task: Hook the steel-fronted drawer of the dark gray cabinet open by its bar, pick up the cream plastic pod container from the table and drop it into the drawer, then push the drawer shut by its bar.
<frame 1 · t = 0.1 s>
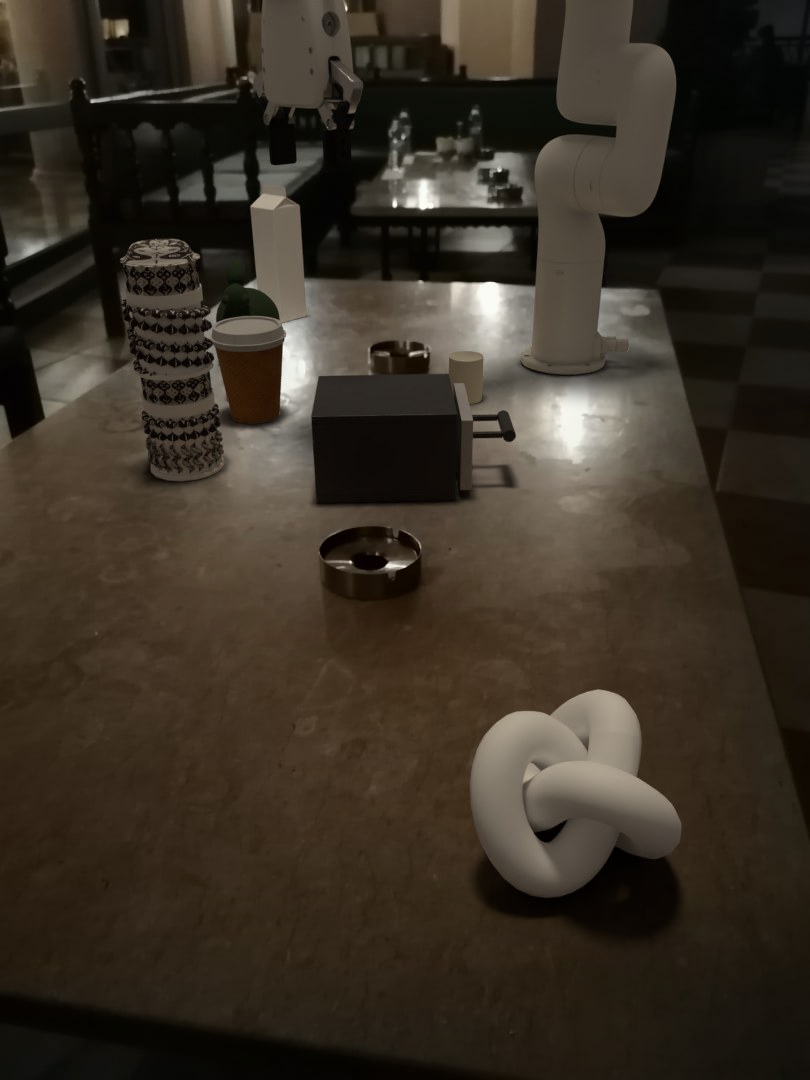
hand: (310, 167, 96), 31 cm above the table, tool pointing down, fingers open, 9 cm apart
disposable coffee cup: (256, 416, 119), on the table
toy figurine: (250, 373, 135), on the table
dark gray cabinet: (385, 476, 102), on the table
pod container: (465, 398, 124), on the table
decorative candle: (187, 467, 105), on the table
white knot sculpture: (555, 851, 55), on the table
milk: (283, 317, 162), on the table
drawer: (428, 435, 100), point 5 cm above the table, slide at 0.5 cm
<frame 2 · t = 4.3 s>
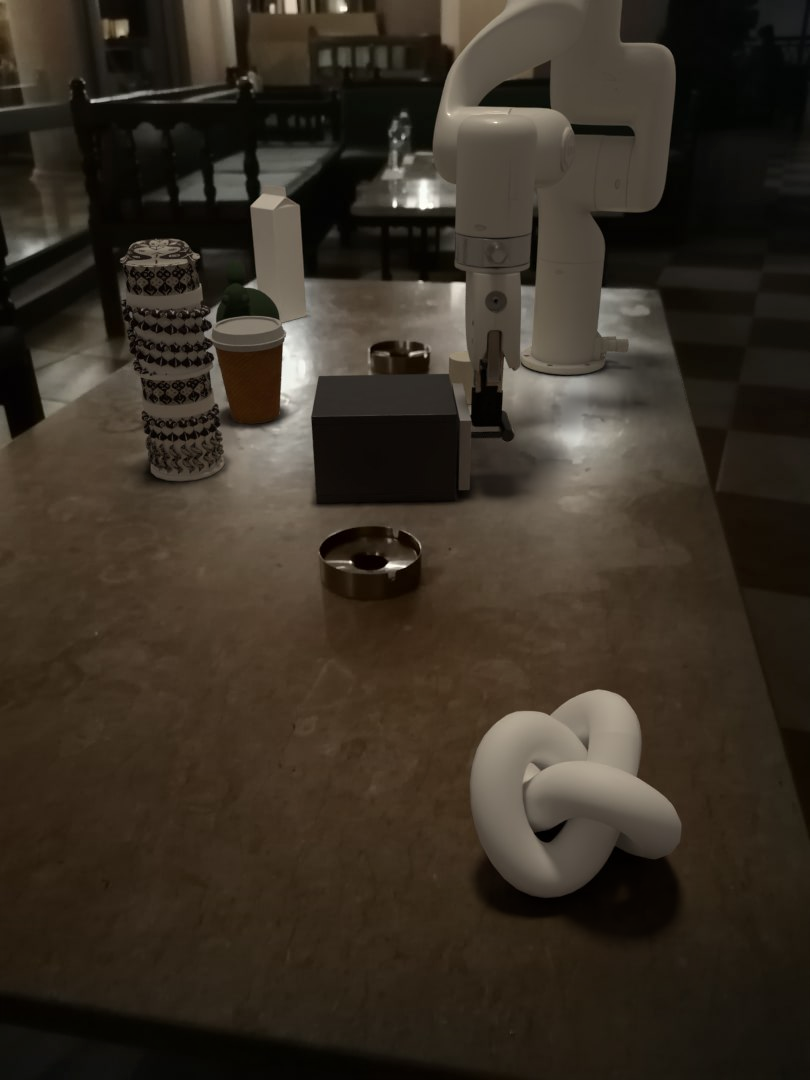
hand: (485, 424, 99), 6 cm above the table, tool pointing down, fingers closed
drawer: (426, 435, 100), point 5 cm above the table, slide at 0.3 cm, touching gripper
everything else where it was.
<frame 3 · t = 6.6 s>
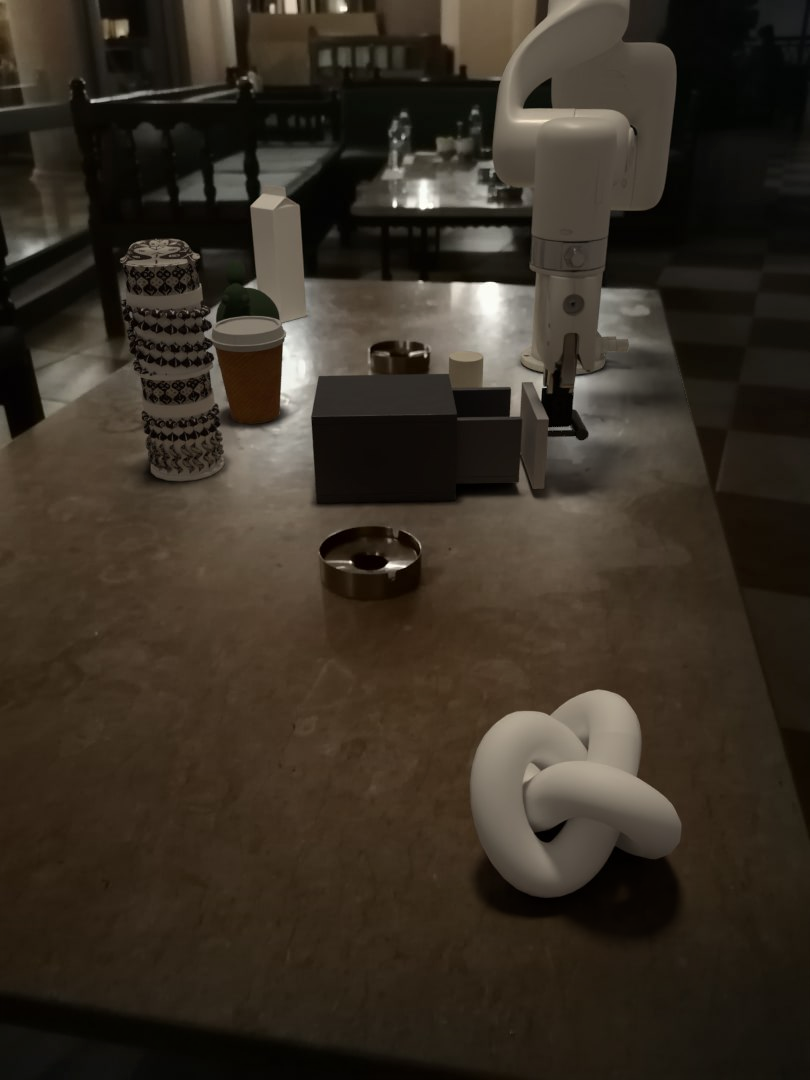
hand: (555, 424, 100), 6 cm above the table, tool pointing down, fingers closed
drawer: (498, 434, 100), point 5 cm above the table, slide at 8.3 cm
everything else where it was.
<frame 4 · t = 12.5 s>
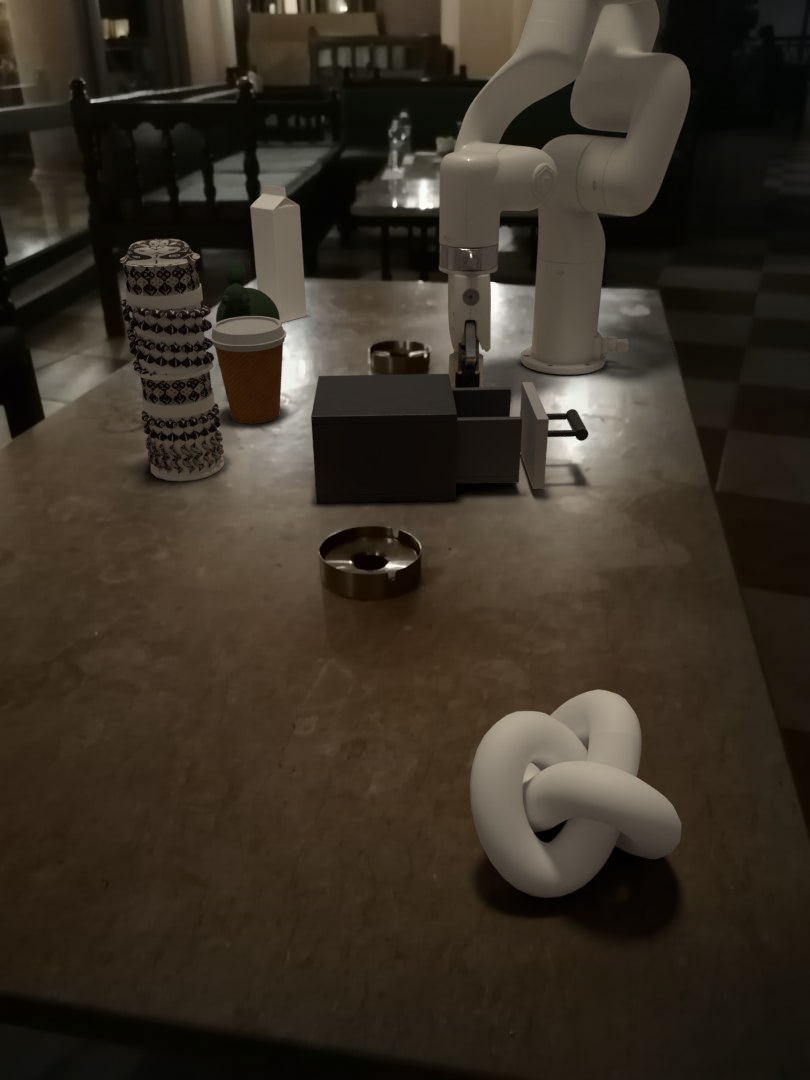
hand: (465, 393, 124), 1 cm above the table, tool pointing down, fingers closed on pod container, 4 cm apart
pod container: (465, 398, 124), on the table, touching gripper
everything else where it was.
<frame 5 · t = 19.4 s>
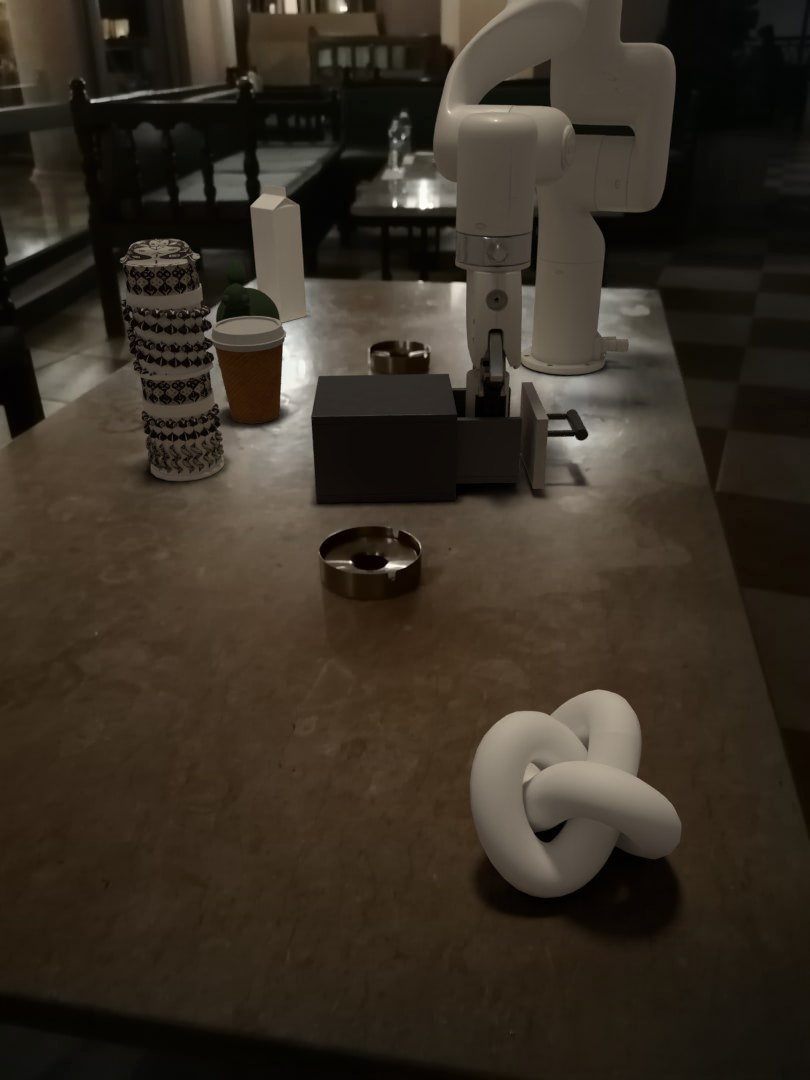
hand: (486, 420, 99), 7 cm above the table, tool pointing down, fingers closed on pod container, 4 cm apart
pod container: (486, 426, 99), point 6 cm above the table, touching gripper
drawer: (498, 434, 100), point 5 cm above the table, slide at 8.3 cm, touching gripper
everything else where it was.
when the fingers open (8 cm above the table, at t = 27.4 s): pod container drops 5 cm, resting on drawer.
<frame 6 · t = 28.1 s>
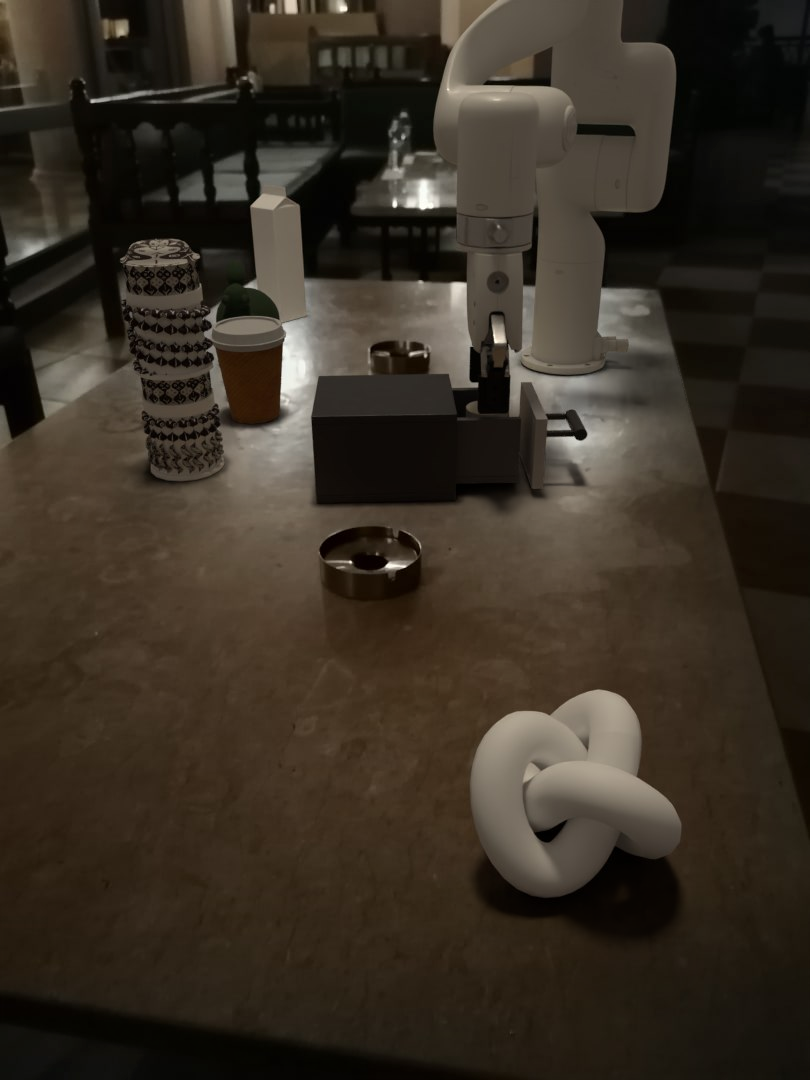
hand: (488, 396, 98), 9 cm above the table, tool pointing down, fingers open, 9 cm apart
pod container: (485, 457, 101), point 2 cm above the table, touching drawer
drawer: (497, 434, 100), point 5 cm above the table, slide at 8.2 cm, touching pod container
everything else where it was.
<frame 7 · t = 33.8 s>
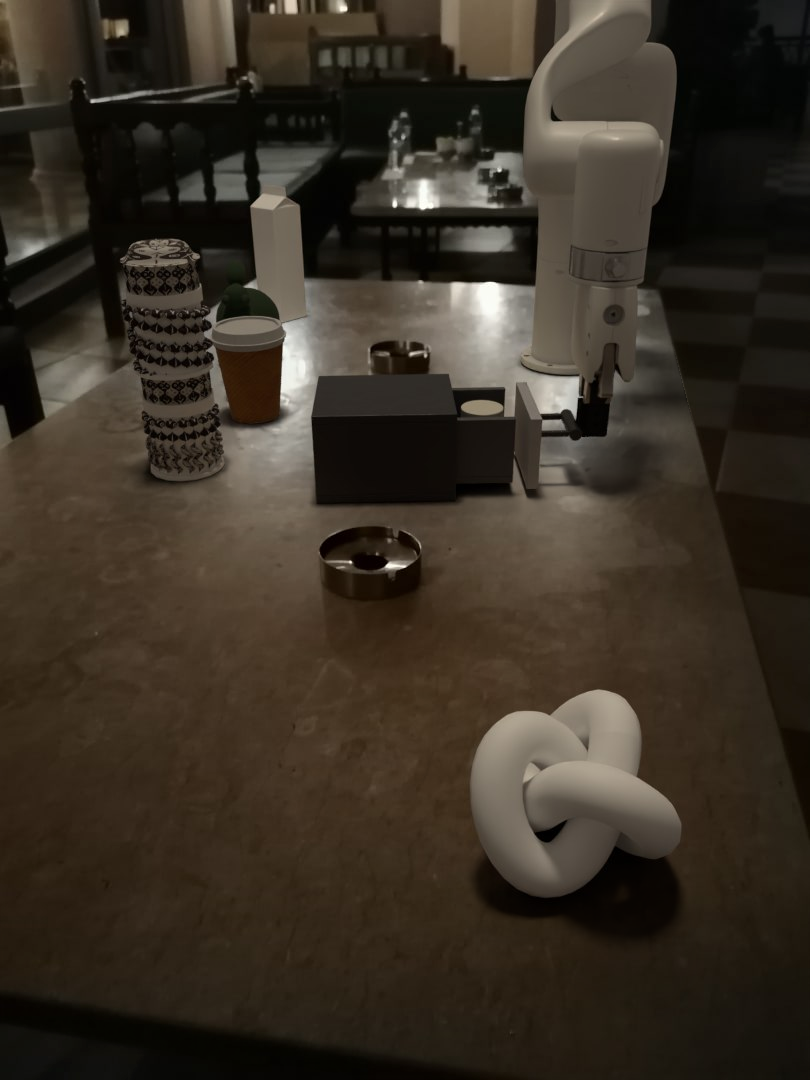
hand: (590, 434, 100), 5 cm above the table, tool pointing down, fingers closed
drawer: (492, 434, 100), point 5 cm above the table, slide at 7.6 cm, touching gripper, pod container
everything else where it was.
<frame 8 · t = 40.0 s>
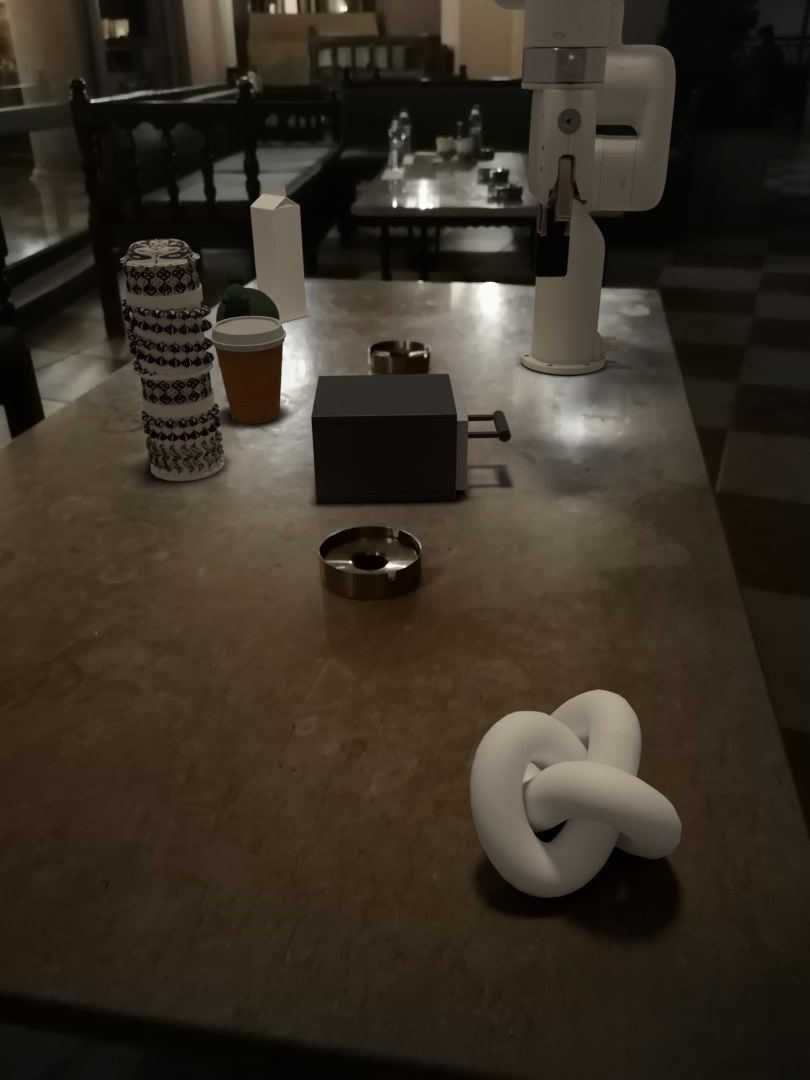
hand: (549, 274, 91), 22 cm above the table, tool pointing down, fingers closed
pod container: (412, 459, 101), point 2 cm above the table, touching drawer
drawer: (423, 435, 100), point 5 cm above the table, slide at 0.0 cm, touching dark gray cabinet, pod container
everything else where it was.
at the end: drawer pulled out 8.3 cm at the most during the clip, back to where it started at the end; pod container inside the target area in the dark gray cabinet (2.0 cm from its centre), point 2.1 cm above the dark gray cabinet's base; drawer slide at 0.0 cm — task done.
